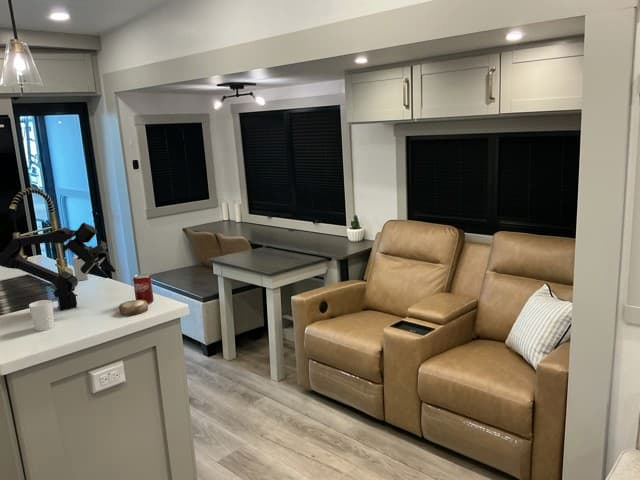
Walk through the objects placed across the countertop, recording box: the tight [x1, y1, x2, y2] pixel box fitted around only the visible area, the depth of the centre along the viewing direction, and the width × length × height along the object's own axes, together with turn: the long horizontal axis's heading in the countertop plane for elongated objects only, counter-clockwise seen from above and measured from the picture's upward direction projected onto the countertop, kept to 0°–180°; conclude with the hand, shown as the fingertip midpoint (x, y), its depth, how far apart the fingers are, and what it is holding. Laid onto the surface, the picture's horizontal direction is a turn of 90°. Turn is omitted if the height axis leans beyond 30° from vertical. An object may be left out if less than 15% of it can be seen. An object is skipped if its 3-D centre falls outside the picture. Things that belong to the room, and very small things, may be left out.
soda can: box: [132, 273, 155, 305], centre depth 226 cm, size 7×7×12 cm
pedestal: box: [118, 299, 149, 317], centre depth 217 cm, size 11×11×3 cm
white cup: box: [28, 299, 55, 332], centre depth 202 cm, size 8×8×10 cm
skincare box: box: [71, 255, 91, 282], centre depth 270 cm, size 6×4×12 cm
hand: (111, 274), depth 225 cm, fingers open, 9 cm apart
